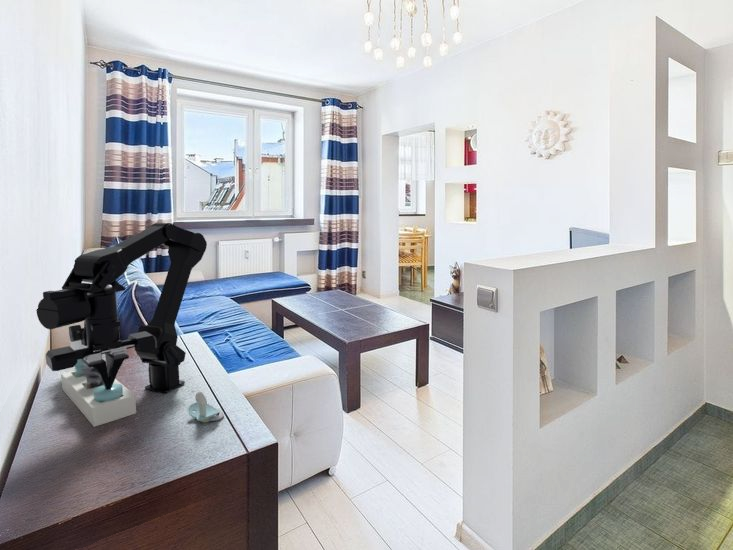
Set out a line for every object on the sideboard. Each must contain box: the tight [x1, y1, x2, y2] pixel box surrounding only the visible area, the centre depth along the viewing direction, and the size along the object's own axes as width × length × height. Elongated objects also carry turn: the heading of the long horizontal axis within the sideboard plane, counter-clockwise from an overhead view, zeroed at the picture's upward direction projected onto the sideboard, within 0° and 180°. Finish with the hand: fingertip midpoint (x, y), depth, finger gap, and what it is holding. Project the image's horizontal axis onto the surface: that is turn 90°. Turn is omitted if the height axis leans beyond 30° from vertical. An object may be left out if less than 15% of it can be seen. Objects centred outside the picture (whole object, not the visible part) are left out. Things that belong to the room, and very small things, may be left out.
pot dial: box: [81, 365, 103, 389], centre depth 94 cm, size 5×5×5 cm
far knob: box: [73, 359, 86, 377], centre depth 100 cm, size 5×5×5 cm
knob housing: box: [60, 369, 137, 428], centre depth 94 cm, size 25×8×4 cm, turn 47°
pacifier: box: [187, 390, 224, 423], centre depth 87 cm, size 7×6×6 cm
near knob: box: [93, 383, 123, 403], centre depth 88 cm, size 5×5×5 cm
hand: (108, 388), depth 88 cm, fingers closed, pressing on near knob
